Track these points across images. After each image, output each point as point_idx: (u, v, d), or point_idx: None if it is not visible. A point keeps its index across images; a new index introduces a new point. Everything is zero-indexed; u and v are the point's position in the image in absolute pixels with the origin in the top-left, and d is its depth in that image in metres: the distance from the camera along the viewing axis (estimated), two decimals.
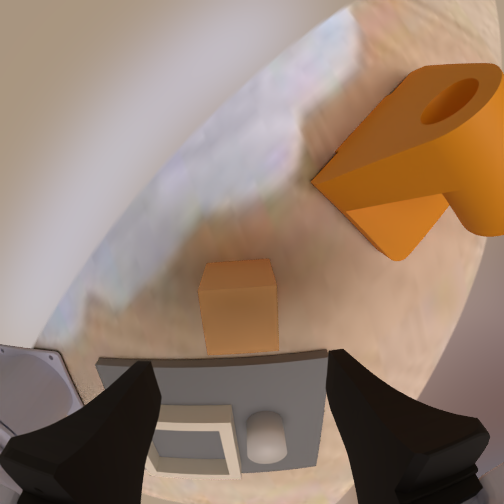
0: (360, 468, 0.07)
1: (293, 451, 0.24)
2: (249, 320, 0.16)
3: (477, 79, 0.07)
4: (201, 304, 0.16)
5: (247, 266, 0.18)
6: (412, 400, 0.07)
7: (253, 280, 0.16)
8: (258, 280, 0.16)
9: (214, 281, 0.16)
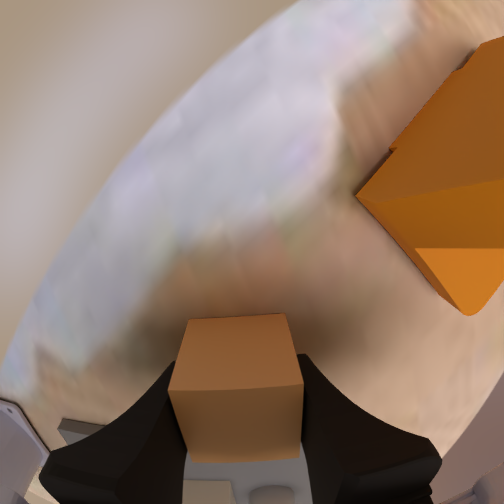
0: (313, 477, 0.07)
1: None
2: (254, 429, 0.09)
3: None
4: (176, 407, 0.08)
5: (251, 330, 0.11)
6: (363, 412, 0.07)
7: (262, 368, 0.09)
8: (271, 369, 0.09)
9: (197, 368, 0.09)
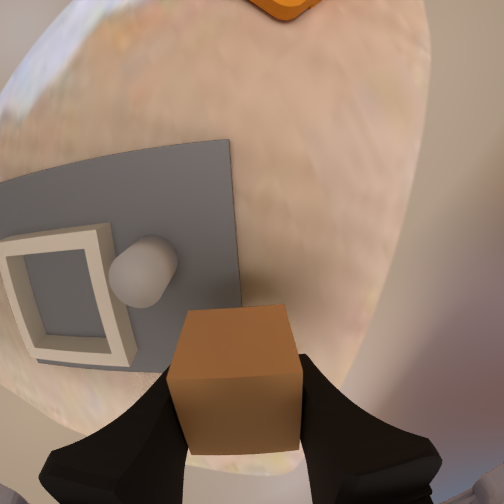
0: (313, 477, 0.07)
1: None
2: (253, 419, 0.09)
3: None
4: (174, 397, 0.08)
5: (250, 321, 0.11)
6: (363, 412, 0.07)
7: (261, 357, 0.09)
8: (270, 357, 0.09)
9: (196, 357, 0.09)
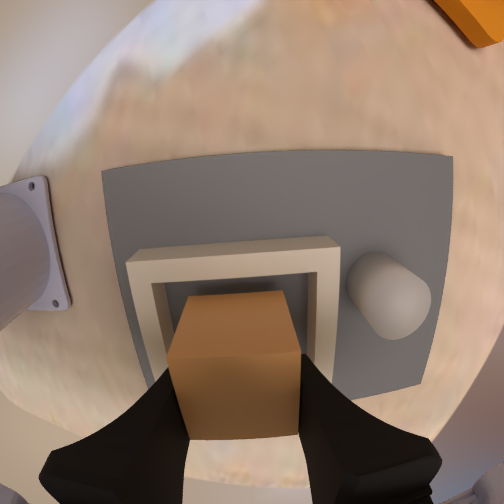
0: (313, 477, 0.07)
1: (400, 350, 0.16)
2: (252, 401, 0.09)
3: None
4: (174, 377, 0.09)
5: (249, 305, 0.12)
6: (363, 412, 0.07)
7: (260, 338, 0.09)
8: (268, 338, 0.09)
9: (195, 338, 0.10)
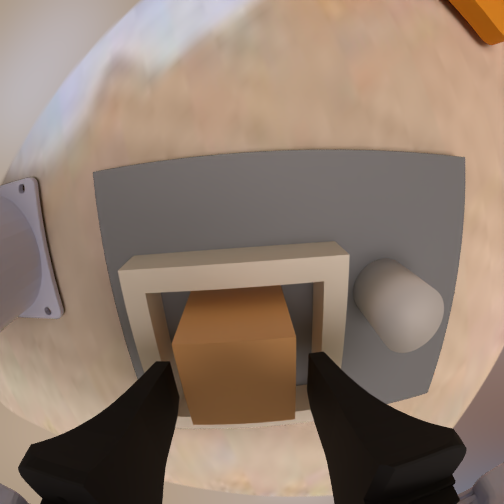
0: (336, 473, 0.07)
1: (408, 359, 0.15)
2: (252, 385, 0.10)
3: None
4: (178, 363, 0.10)
5: (248, 297, 0.13)
6: (387, 407, 0.07)
7: (258, 325, 0.10)
8: (266, 326, 0.10)
9: (199, 327, 0.10)
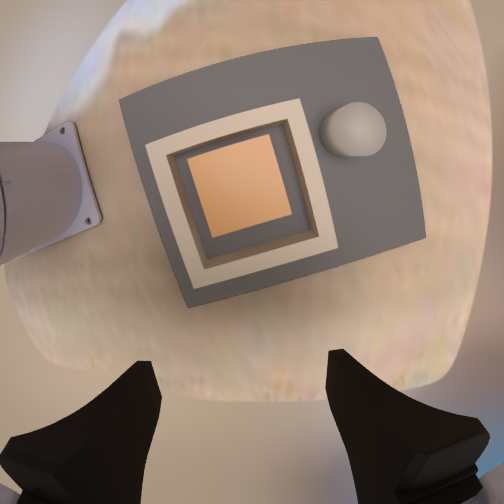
0: (360, 468, 0.07)
1: (392, 198, 0.19)
2: (249, 181, 0.14)
3: None
4: (193, 173, 0.14)
5: None
6: (412, 400, 0.07)
7: None
8: None
9: None
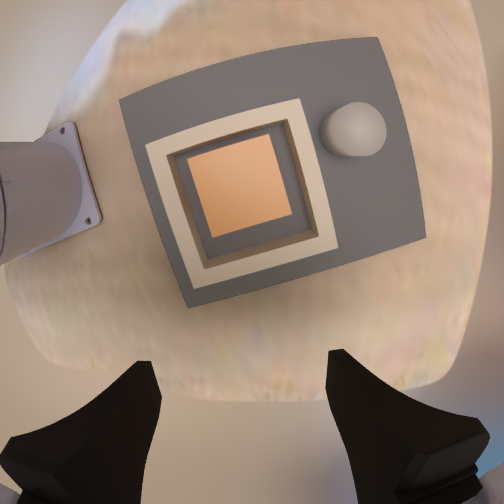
0: (360, 468, 0.07)
1: (392, 198, 0.19)
2: (249, 181, 0.14)
3: None
4: (193, 173, 0.14)
5: None
6: (412, 400, 0.07)
7: None
8: None
9: None
